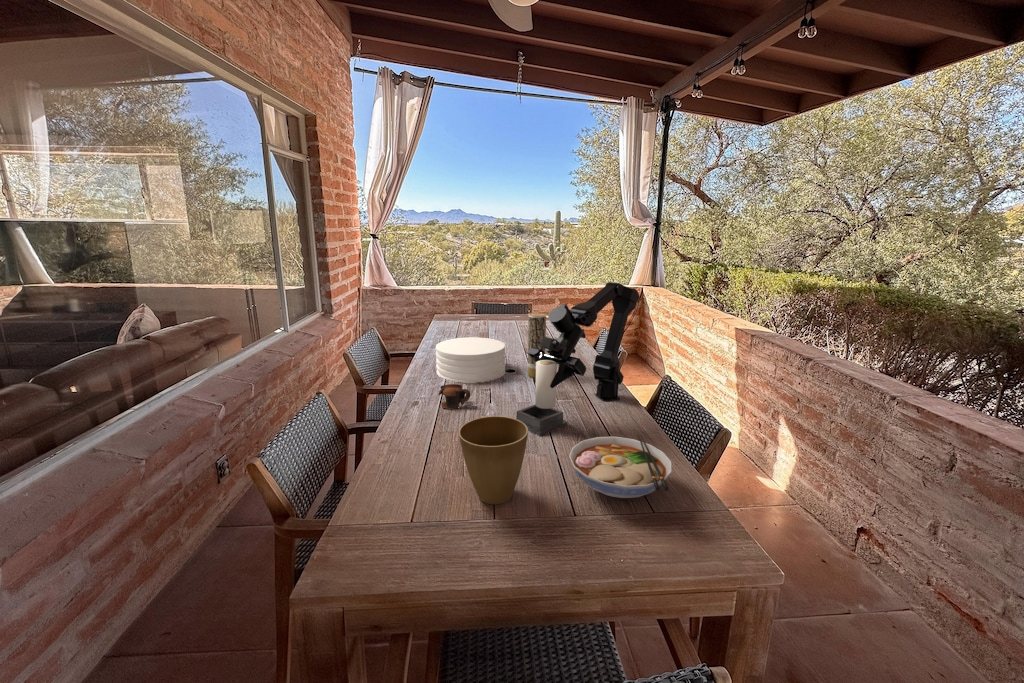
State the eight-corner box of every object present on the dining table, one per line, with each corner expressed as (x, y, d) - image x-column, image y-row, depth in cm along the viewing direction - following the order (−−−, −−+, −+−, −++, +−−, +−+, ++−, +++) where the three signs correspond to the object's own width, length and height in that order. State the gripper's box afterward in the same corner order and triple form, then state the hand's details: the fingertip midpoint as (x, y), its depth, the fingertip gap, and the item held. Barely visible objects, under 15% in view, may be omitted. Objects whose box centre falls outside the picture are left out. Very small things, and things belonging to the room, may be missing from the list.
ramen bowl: (567, 458, 119) (568, 429, 117) (658, 463, 116) (660, 433, 114) (568, 517, 94) (569, 482, 92) (682, 525, 92) (686, 489, 90)
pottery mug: (433, 410, 151) (432, 385, 153) (448, 412, 159) (447, 389, 161) (465, 405, 146) (464, 380, 148) (478, 408, 155) (477, 384, 157)
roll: (556, 401, 138) (557, 360, 135) (554, 409, 132) (555, 366, 129) (536, 400, 139) (537, 359, 136) (534, 407, 133) (534, 365, 130)
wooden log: (543, 379, 179) (544, 316, 173) (526, 378, 181) (527, 316, 175) (545, 373, 186) (547, 313, 180) (529, 372, 187) (530, 312, 181)
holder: (539, 412, 147) (539, 401, 146) (567, 424, 138) (568, 412, 137) (511, 423, 139) (511, 411, 138) (539, 436, 131) (540, 423, 130)
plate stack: (428, 367, 195) (427, 341, 192) (489, 359, 206) (489, 334, 204) (448, 387, 170) (447, 358, 168) (516, 377, 182) (516, 349, 179)
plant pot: (491, 471, 112) (490, 410, 108) (540, 492, 103) (541, 427, 99) (446, 498, 101) (444, 431, 97) (497, 525, 92) (496, 452, 88)
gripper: (531, 321, 139) (506, 363, 134) (581, 331, 126) (555, 378, 122) (548, 341, 147) (524, 382, 142) (596, 352, 134) (572, 398, 129)
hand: (542, 384), depth 133 cm, fingers closed on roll, 6 cm apart
